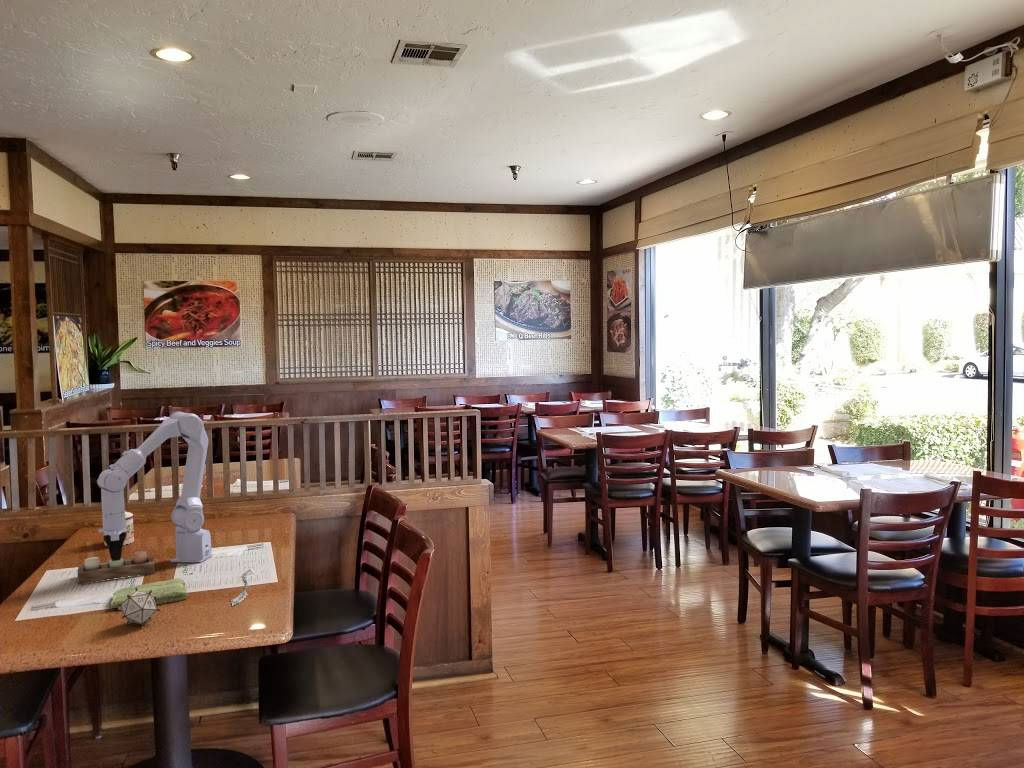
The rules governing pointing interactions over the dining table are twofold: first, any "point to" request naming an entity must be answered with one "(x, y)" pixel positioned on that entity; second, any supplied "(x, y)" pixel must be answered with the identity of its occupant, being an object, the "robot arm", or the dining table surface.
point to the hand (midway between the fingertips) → (116, 560)
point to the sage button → (116, 563)
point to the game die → (139, 607)
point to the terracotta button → (139, 557)
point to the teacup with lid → (128, 529)
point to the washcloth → (154, 592)
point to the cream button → (92, 563)
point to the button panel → (115, 571)
